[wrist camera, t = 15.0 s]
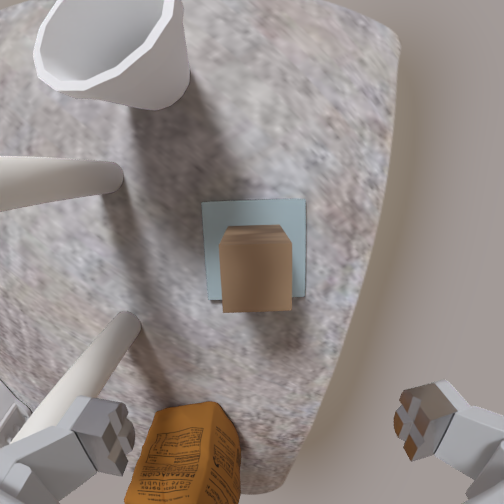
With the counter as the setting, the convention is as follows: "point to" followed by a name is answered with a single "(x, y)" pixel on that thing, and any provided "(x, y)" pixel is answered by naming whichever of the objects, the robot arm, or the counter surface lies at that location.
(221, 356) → the counter surface
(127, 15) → the foam cup
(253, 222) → the coaster
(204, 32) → the counter surface
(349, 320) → the counter surface
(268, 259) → the block
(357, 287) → the counter surface
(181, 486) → the coffee package
